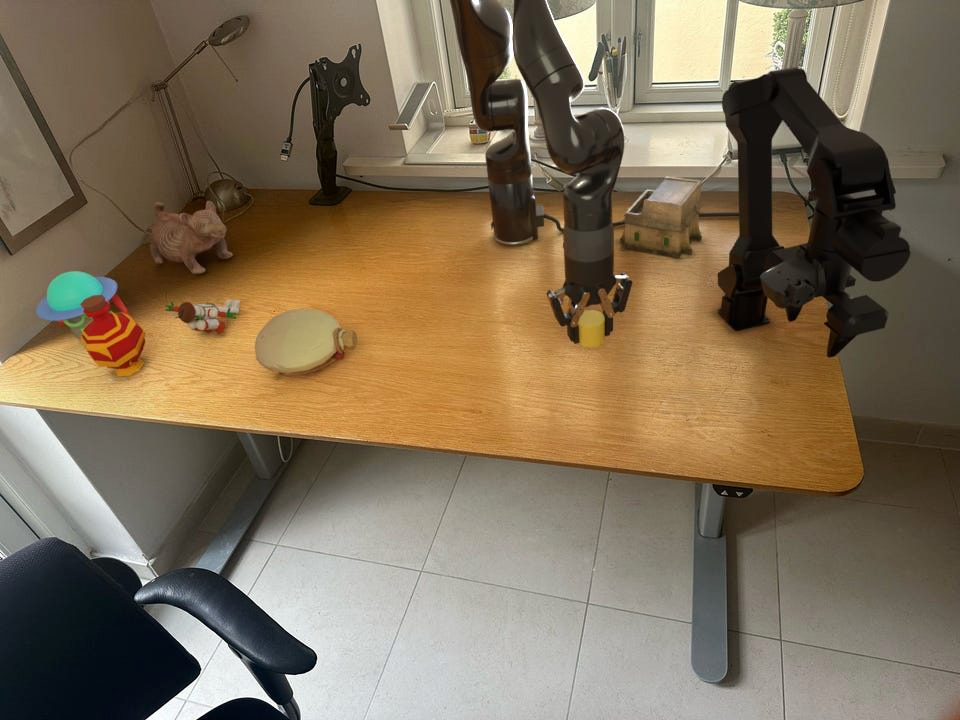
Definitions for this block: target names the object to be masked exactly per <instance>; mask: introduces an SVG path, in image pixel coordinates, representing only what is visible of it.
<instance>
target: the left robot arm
mask: <svg viewBox="0 0 960 720" xmlns="http://www.w3.org/2000/svg"><path fill="white" fill-rule="evenodd" d="M449 4H450V8H451V13H452V19H453V24H454V27H455V33H456V39H457V43H458V47H459V53H460V56H461V60H462V63H463V66H464V69H465V74H466V77H467V82H468V89H469V97H470V106H471V110H472V111H471V112H472V116H473V121H474V122H475V125H476V127H477V128H478V129H479V130H480V131H482V132H486V133H491V132H504V131H511V132H510V133H509V134H508V135H507V136H506V137H504V138H502V139H500V140H498V141H496V142H494V143H493V144H491V145H490V146H488V147H487V148H486V150H485V154H484V155H485V157H484V158H485V166H486V175H487V182H488V183H487V184H488V191H489V200H490V201H489V202H490V210H491V216H492V217H491V218H492V219H491V220H492V221H491V223H490V228H491V230H493V239H494V241H495V242H496V243H497V244H498V245H502V246H505V247H519V246H524V245H526V244H529V243H531V242H532V241H536V240H539V233H538V228H541V227H545V219H546V220H548V221H552V222H553V223H555V225H556V229H557V230H558V231H559V232H561V233H562V234H563V235H562V237H563V239H562V240H563V241H562V249H563V260H564V263H563V264H564V281H563V284H562V287H561V288H559V289H558V290H555V291H554V290H553V289H549V290H547V292H546V298H547V299H548V302H549V305H550V308H551V310H552V313H553V315H554V318H555V319H556V321H557V322H558V324H559V326H560V327H566V335H567V337H568V338H569V340H570V342H573V344H574V345H576V344H578V343H579V326H578V321H579V319H580V316H582V315H583V312H584V311H585V309H586V308H589V307H591V306H597V305H600V306H601V307H600V308H601V309H602V311H600V312H601V313H602V314H603V315H604V317H605V337H609V336H611V333H612V332H613V331H614V317H615V315H616V314H618V313H624V312H625V310H626V308H627V304H628V300H629V297H630V294H631V290H632V287H633V283H634V282H633V280H632V279H631V277H630V276H629V275H628V274H627V273H626V272H621V273H620V274H619V275H615V274H614V273H615V229H614V227H619V226H625V223H622V221H623V220H620V221H614V222H613V195H614V189H615V186H616V184H617V180H618V176H619V174H620V173H619V172H620V168H621V165H622V161H623V157H624V153H625V146H626V135H625V130H624V126H623V123H622V121H621V119H620V117H619V116H618V114H617V113H615V112H614V111H613V110H612V109H609V108H605V107H598V108H595V109H592V110H589V111H587V112H585V113H582V114H580V115H577V116H574V114H573V112H572V109H571V108H572V107H571V103H572V102H574V101H575V100H576V99H577V98H578V97H579V96H580V95H581V94H582V93H583V91H584V89H585V79H584V77H583V74H582V72H581V70H580V68H579V66H578V65H577V63H576V61H575V58H574V57H573V55H572V53H571V51H570V50H569V47H568V45H567V44H566V41H565V40H564V38H563V36H562V35H561V32H560V30H559V27H558V26H557V24H556V22H555V19H554V16H553V14H552V11H551V9H550V7H549V4H548V0H513V12H512V13H513V14H512V15H513V16H512V17H511V14H510V11H508V9H507V8H506V7H505V5H504V4H503V3H502V2H501V1H499V0H449ZM513 59H514V62H515V64H516V66H517V69H518V71H519V73H520V75H521V77H522V79H521V78H510V79H500V80H498V79H499V78H500V77H501V76H502V75H503V73H504V72H505V71H506V70H507V68H508V66H509V65H510V63H511V61H512V60H513ZM527 88H528V89H527ZM528 90H529V92H530V94H531V96H532V98H533V100H534V101H535V103H536V107H537V111H538V116H539V119H540V124H541V128H542V132H543V136H544V141H545V146H546V149H547V153H548V155H549V157H550V159H551V162H552V163H553V164H554V165H555V166H556V168H558V169H559V170H560V171H562V172H563V173H565V174H568V175H576V176H575V177H574V178H572V180H570V181H569V182H568V183H567V184H566V186H565V187H564V189H563V193H562V195H563V196H562V198H563V200H562V202H563V203H562V204H563V221H564V222H563V227H562V226H561V223H560V221H559V220H558V219H557V218H556V217H553V216H551V215H548V214H546V213H544V206H543V204H539V205H536V204H537V203H536V197H535V195H534V186H533V185H534V183H533V182H534V181H533V172H532V171H533V169H532V157H531V156H532V155H531V147H530V146H531V145H530V134H529V133H530V132H529V131H530V129H529V96H528ZM711 217H712V218H714V217H717V218H718V217H739V212H700V213H699V217H698V218H711ZM613 288H615V290H614V291H615V292H614V295H613V297H612V302H611V301H610V298H609V294H610V293H611V291H612V290H613ZM565 297H567V298H568V299H569V300H568V304H567V305H568V306H567V311H566V313H564V310H563V308H562V305H563V304H564V302H565V301H564V298H565Z"/></svg>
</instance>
